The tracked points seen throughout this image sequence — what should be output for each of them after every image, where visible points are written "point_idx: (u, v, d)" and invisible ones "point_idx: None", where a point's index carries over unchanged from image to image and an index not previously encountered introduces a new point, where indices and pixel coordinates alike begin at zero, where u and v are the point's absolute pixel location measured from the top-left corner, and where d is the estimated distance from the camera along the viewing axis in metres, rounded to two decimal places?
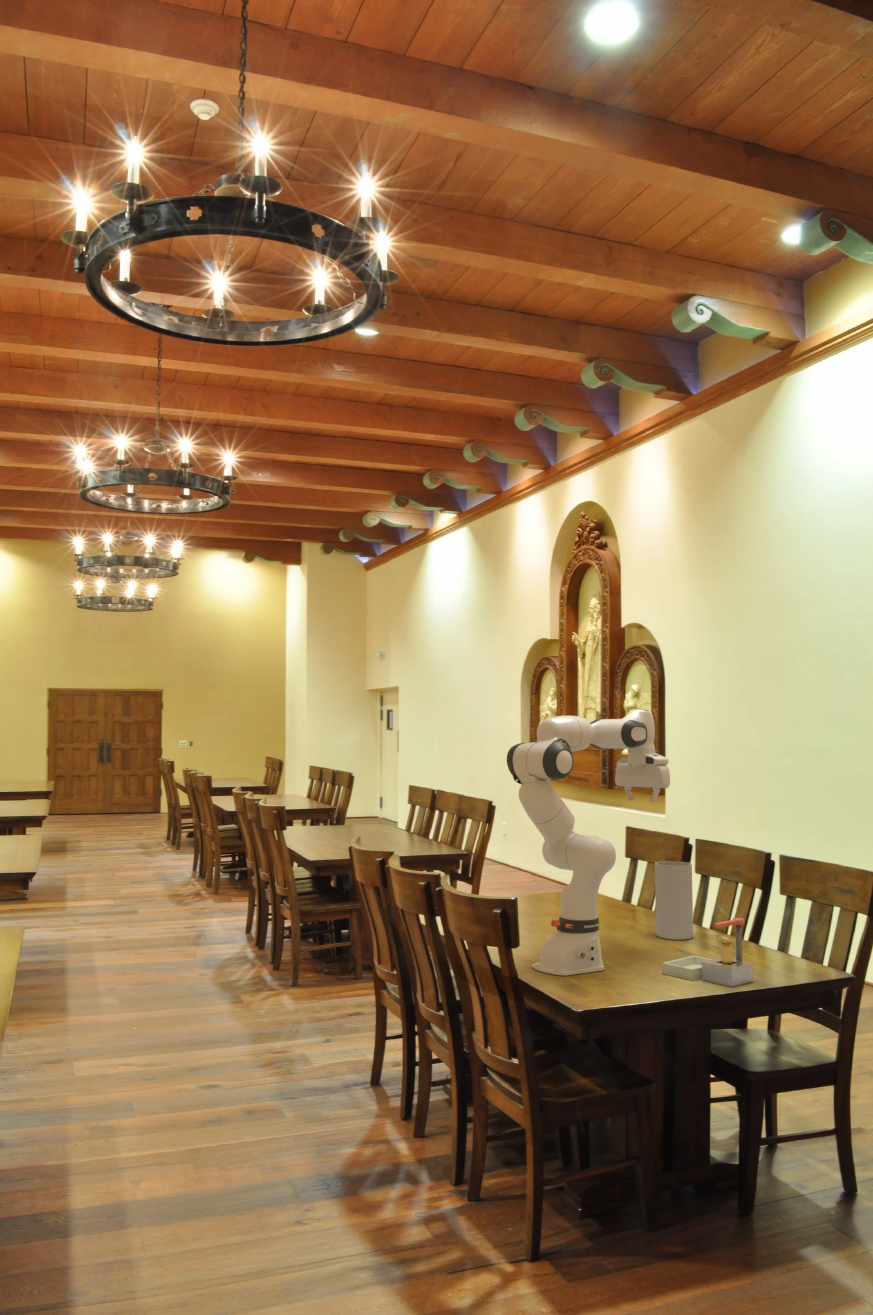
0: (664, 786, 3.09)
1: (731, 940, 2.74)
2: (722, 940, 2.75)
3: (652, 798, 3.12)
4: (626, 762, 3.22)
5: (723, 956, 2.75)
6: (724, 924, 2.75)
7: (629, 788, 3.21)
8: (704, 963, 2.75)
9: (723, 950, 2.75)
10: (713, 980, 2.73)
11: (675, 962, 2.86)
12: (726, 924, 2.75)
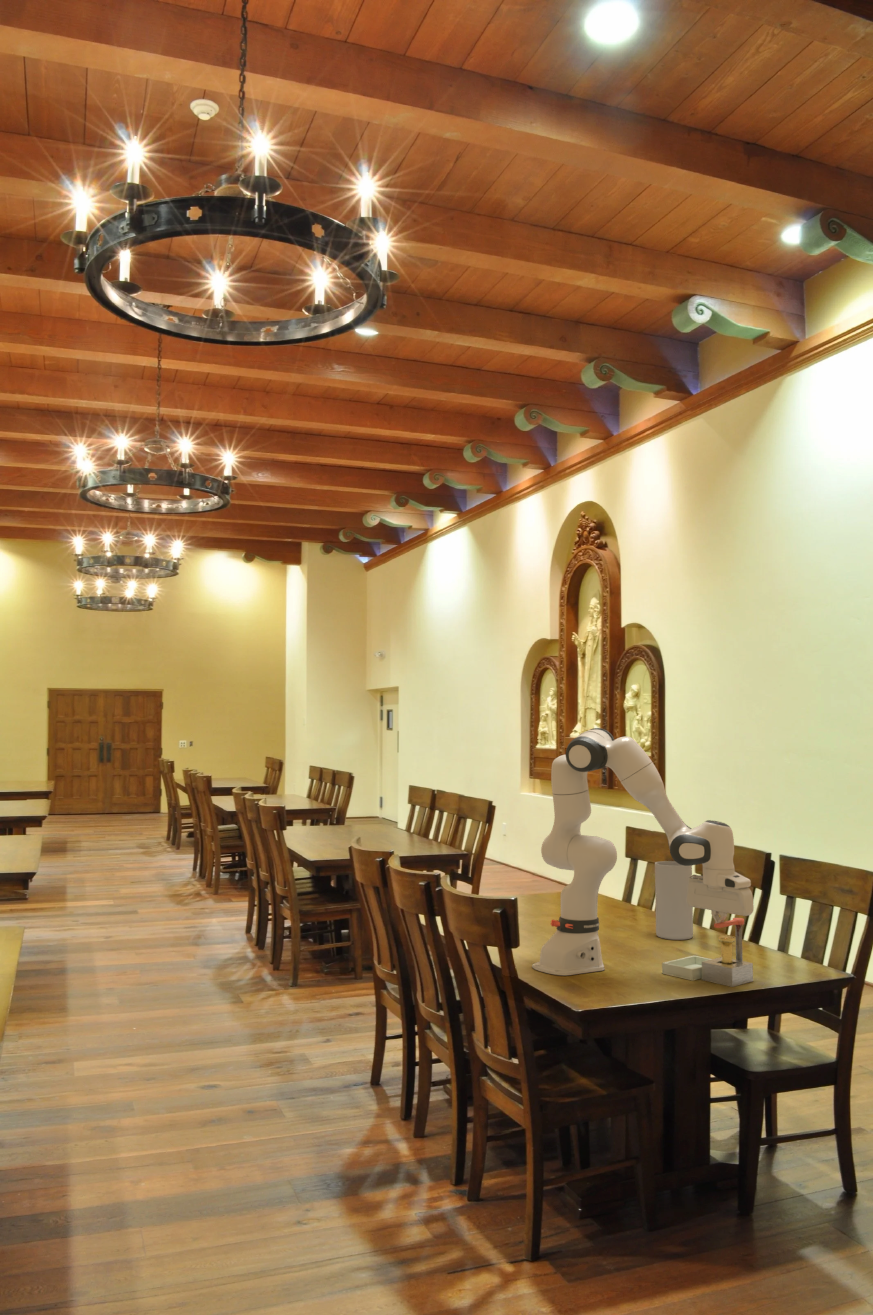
0: (747, 914, 2.69)
1: (731, 940, 2.74)
2: (722, 940, 2.75)
3: None
4: (700, 880, 2.82)
5: (723, 956, 2.75)
6: (724, 924, 2.74)
7: (717, 912, 2.77)
8: (704, 963, 2.75)
9: (723, 950, 2.75)
10: (713, 980, 2.73)
11: (675, 962, 2.86)
12: (726, 924, 2.75)
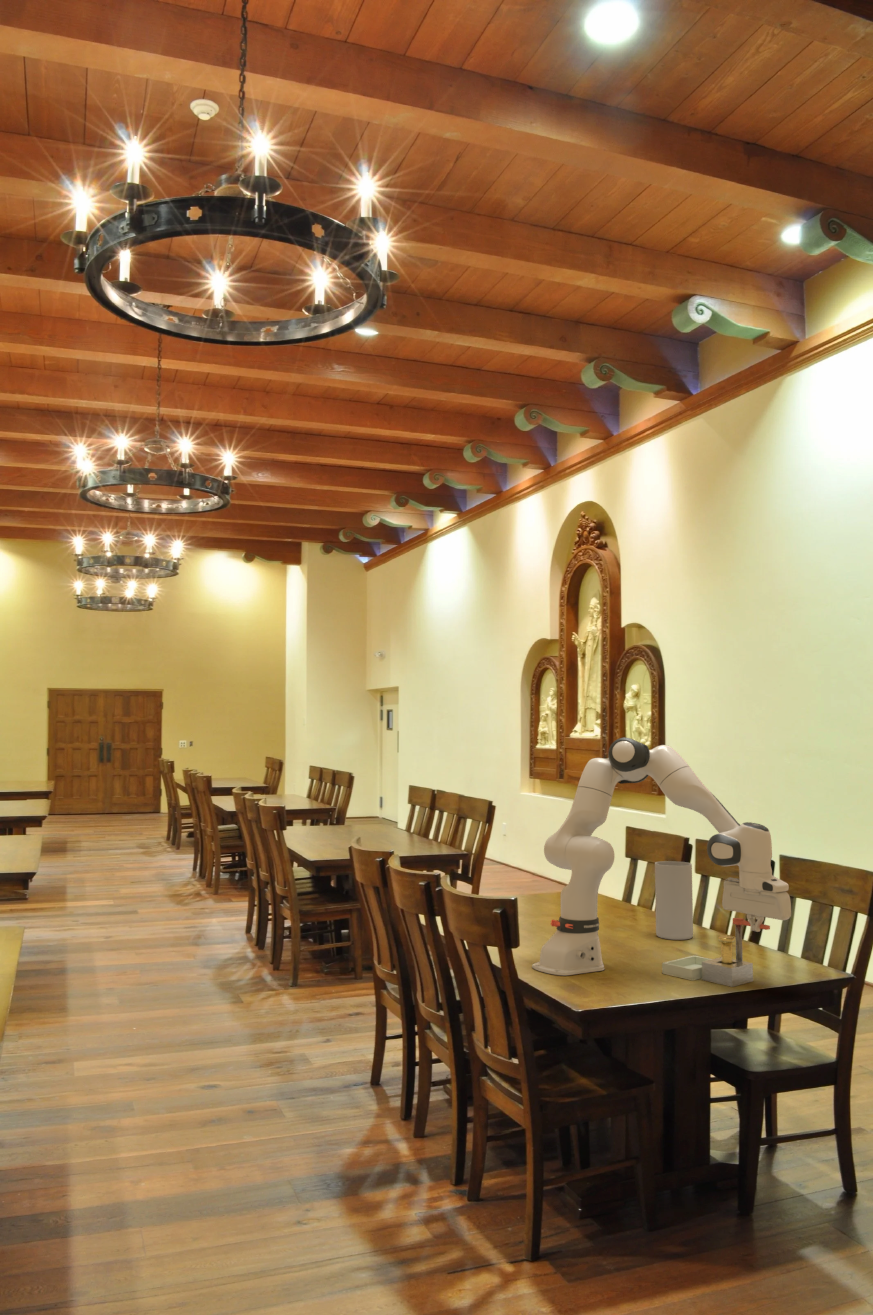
0: (785, 919, 2.65)
1: (731, 940, 2.74)
2: (722, 940, 2.75)
3: (755, 927, 2.72)
4: (736, 883, 2.78)
5: (723, 956, 2.75)
6: None
7: (753, 916, 2.74)
8: (704, 963, 2.75)
9: (723, 950, 2.75)
10: (713, 980, 2.73)
11: (675, 962, 2.86)
12: None
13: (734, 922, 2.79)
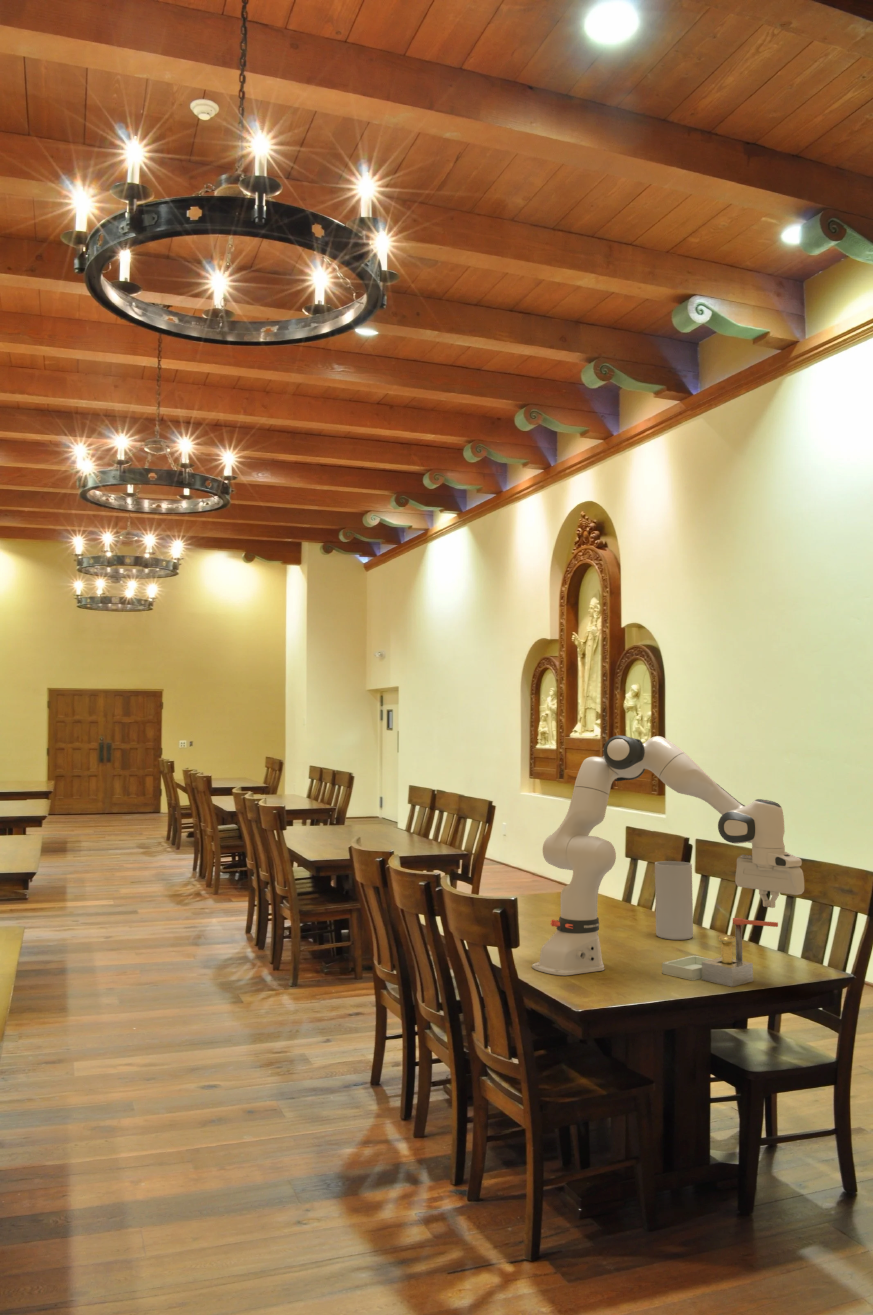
0: (798, 893, 2.66)
1: (731, 940, 2.74)
2: (722, 940, 2.75)
3: (770, 903, 2.73)
4: (749, 860, 2.80)
5: (723, 956, 2.75)
6: None
7: (765, 892, 2.75)
8: (704, 963, 2.75)
9: (723, 950, 2.75)
10: (713, 980, 2.73)
11: (675, 962, 2.86)
12: None
13: (737, 922, 2.79)
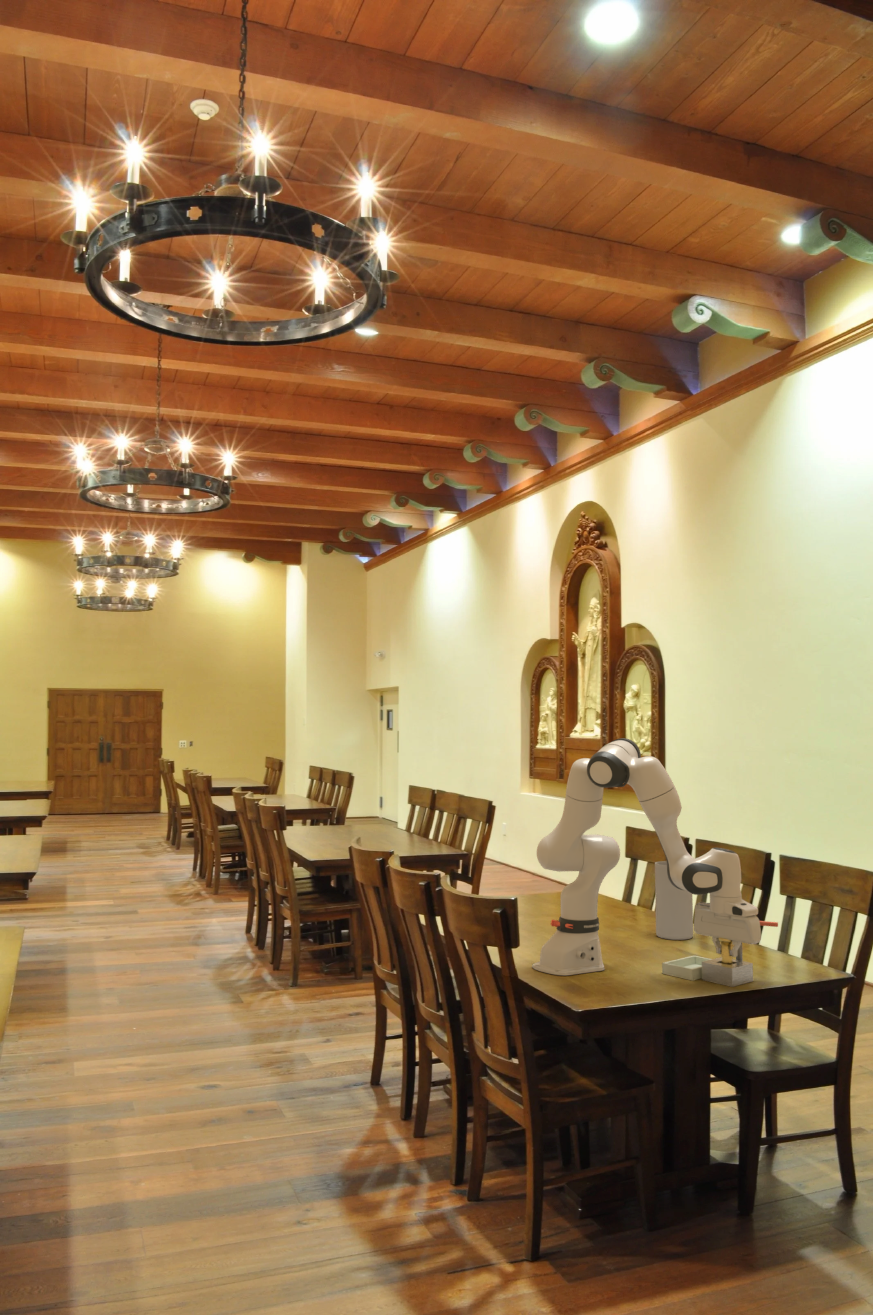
0: (755, 942, 2.68)
1: (731, 940, 2.74)
2: (722, 940, 2.75)
3: (732, 952, 2.73)
4: (707, 907, 2.81)
5: (723, 956, 2.75)
6: None
7: (718, 939, 2.78)
8: (704, 963, 2.75)
9: (723, 950, 2.75)
10: (713, 980, 2.73)
11: (675, 962, 2.86)
12: None
13: None
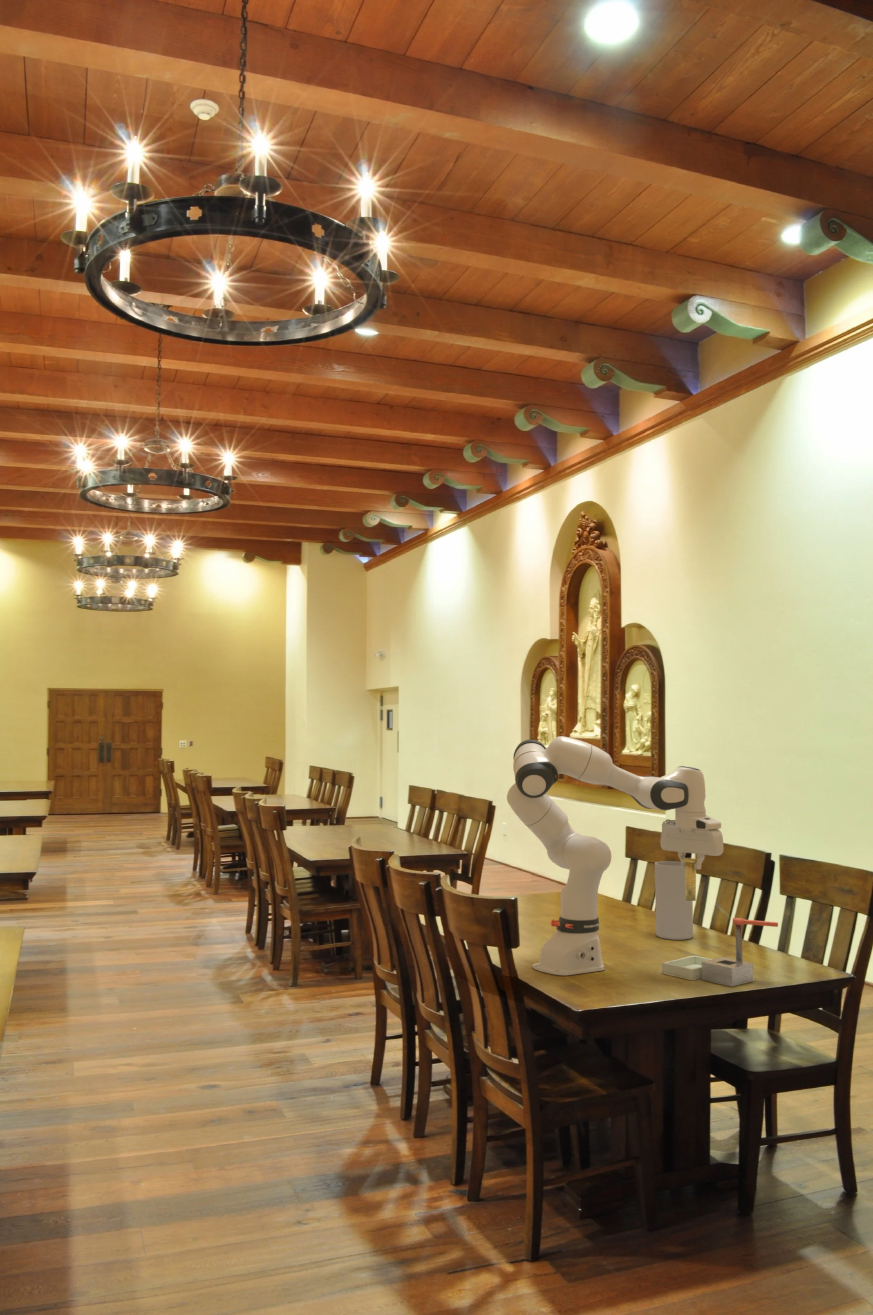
0: (717, 854, 2.79)
1: (694, 861, 2.84)
2: (685, 860, 2.85)
3: (696, 865, 2.84)
4: (673, 824, 2.92)
5: (686, 876, 2.85)
6: None
7: (683, 854, 2.89)
8: (704, 963, 2.75)
9: (686, 870, 2.85)
10: (713, 980, 2.73)
11: (675, 962, 2.86)
12: None
13: (737, 922, 2.79)
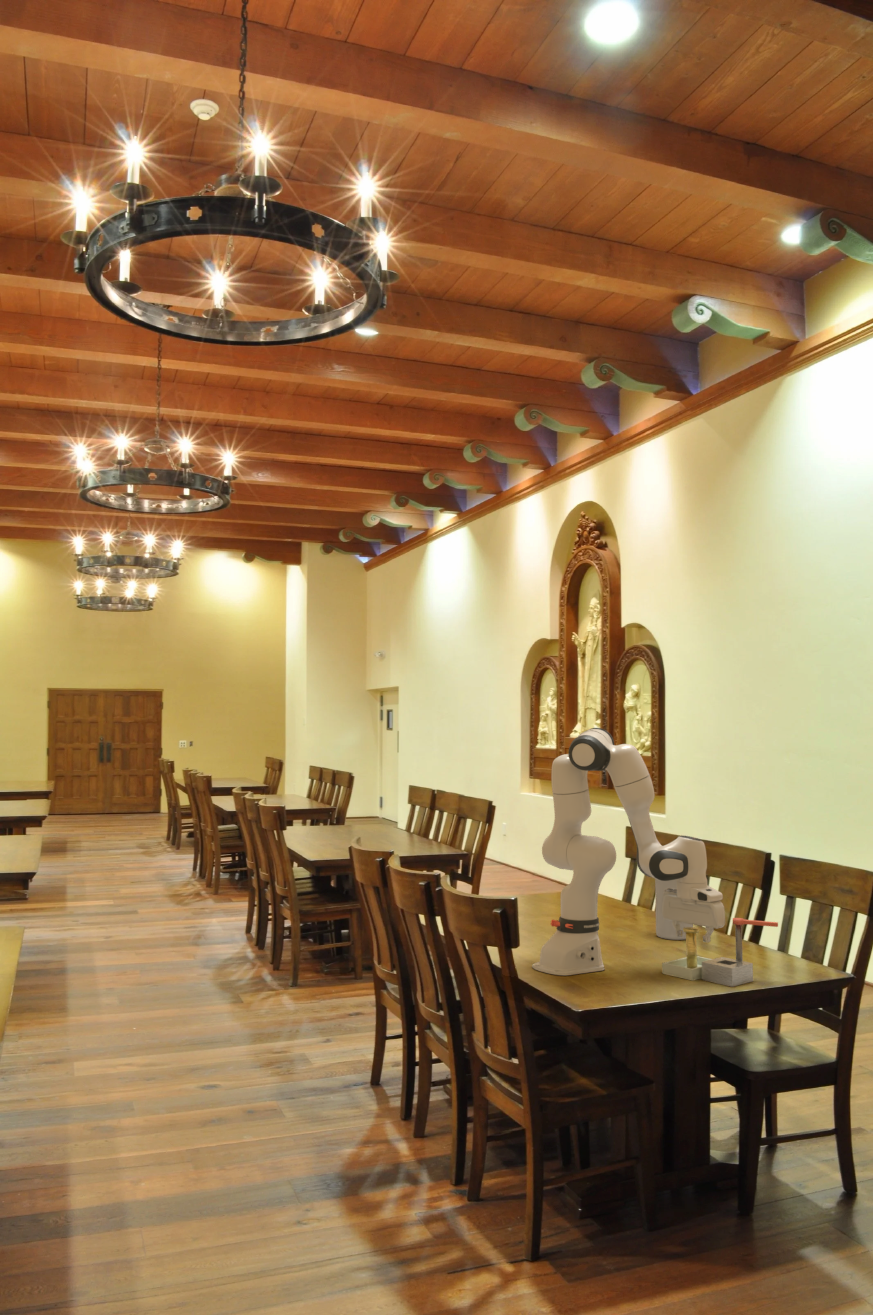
0: (719, 927, 2.77)
1: (694, 931, 2.83)
2: (685, 931, 2.83)
3: (705, 938, 2.80)
4: (674, 893, 2.90)
5: (687, 946, 2.84)
6: None
7: (678, 923, 2.89)
8: (704, 963, 2.75)
9: (687, 940, 2.84)
10: (713, 980, 2.73)
11: (675, 962, 2.86)
12: None
13: (737, 922, 2.79)
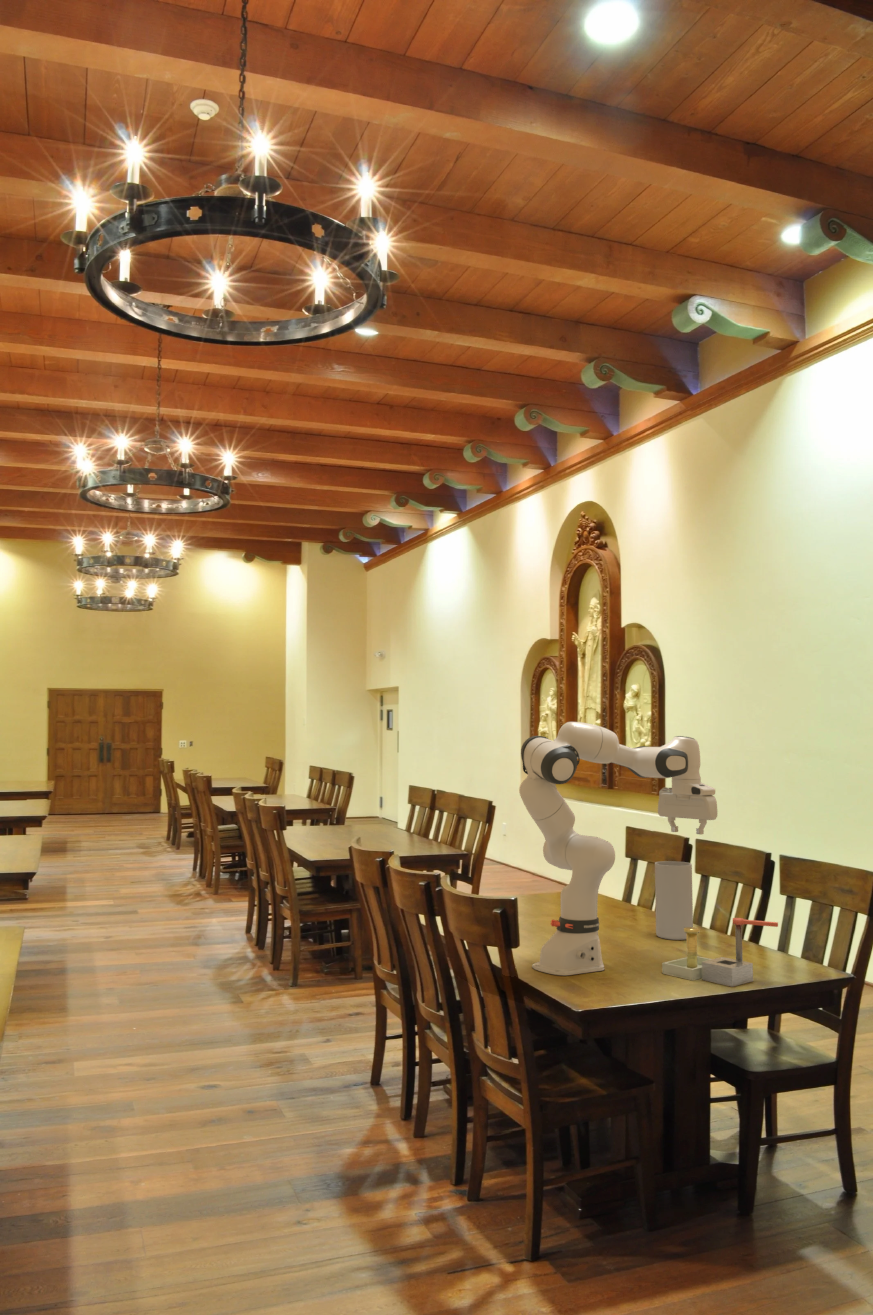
0: (712, 818, 2.94)
1: (695, 931, 2.82)
2: (686, 931, 2.83)
3: (698, 830, 2.97)
4: (669, 791, 3.07)
5: (687, 946, 2.83)
6: None
7: (673, 819, 3.06)
8: (704, 963, 2.75)
9: (687, 941, 2.84)
10: (713, 980, 2.73)
11: (675, 962, 2.86)
12: None
13: (737, 922, 2.79)
